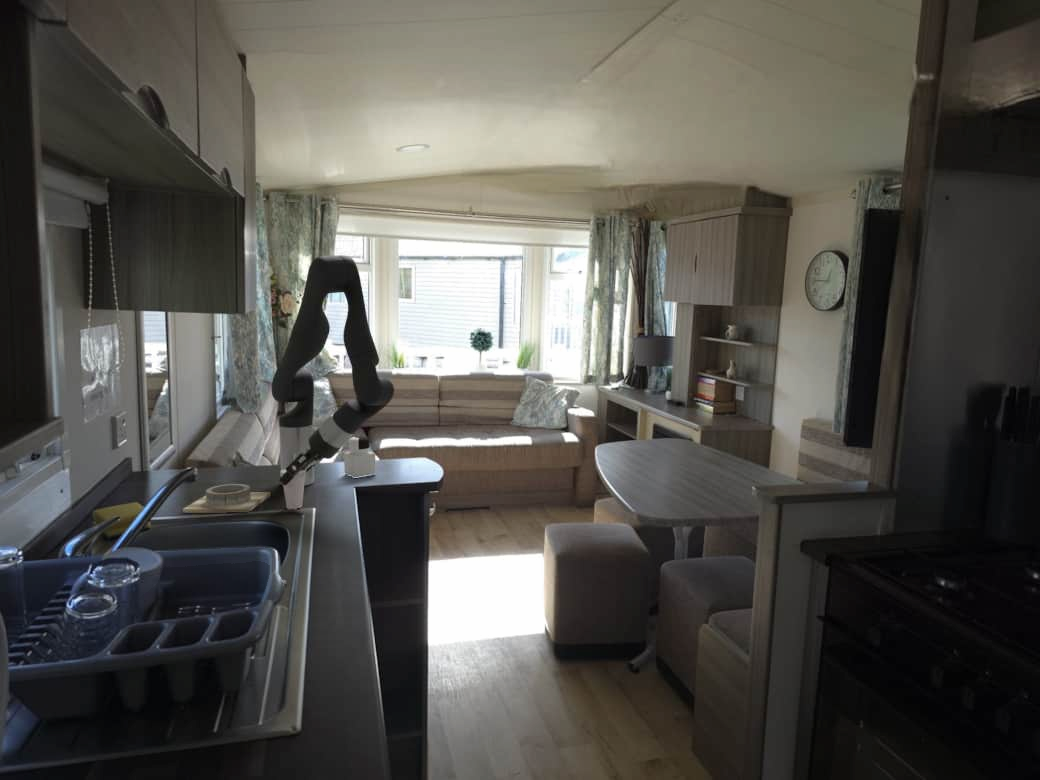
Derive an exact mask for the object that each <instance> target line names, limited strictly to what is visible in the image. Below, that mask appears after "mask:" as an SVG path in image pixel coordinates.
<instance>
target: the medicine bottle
mask: <svg viewBox="0 0 1040 780" xmlns="http://www.w3.org/2000/svg"><path fill="white" fill-rule="evenodd" d="M348 444H349V451H345V452H344V453H343V462H344V463H343V469H344V472H343V473H346V474H348V475H351V476H353V477H359V476H364V475H369V474H374V473H376V453H374V452H372V451H370V449H371V448H370V438H369V437H367V436H365V435H364V436H363V435H361V436H352V437H351V438H350V439H349V441H348Z"/></svg>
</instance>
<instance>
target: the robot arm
mask: <svg viewBox="0 0 1040 780" xmlns="http://www.w3.org/2000/svg"><path fill="white" fill-rule="evenodd" d="M358 268H359V267H358V266H357V263H356V262H355V260H354V259H353V257H351V256H349V255H343V254H340V255H338V254H337V255H321V256H316V257H315V258H314V259H313V260H312V262H311V263H310V265H309V269H308V271H307V276H306V280H305V281H306V282H305V285H304V290H303V296H302V299H301V303H300V307H299V309H298V313H297V316H296V318H295V321H294V323H293V326H292V329H291V333H290V334H289V335H290V336H289V339H288V342H287V345H286V348H285V351H284V353H283V356H282V358H281V360H280V362H279V365H278V366H277V368H276V371H275V372H274V374H273V378H272V381H271V395H272V397H273V399H274V400H275V402H276V401H277V402H278V403H282V404H283V403H287V404H288V403H296V405H295V407H293V408H292V409H291V410H289V411H287V412H286V413H283V414H281V415H280V416H279V419H278V427H279V431H278V432H279V454H280V455H279V457H280V471H281V470H284V469H285V470H286V471H287V472H286V473H285V474H284V475H283V476H280V478H279V482H280V483H281V484H280V485H281V486H283V485H287V484H288V483H289V482H290V481H291V480H292V479H293V478H294V477H295V476H296V475H297V474H298V473H300V472H301V471H305V470H306V475H305V482H304V486H309V485H312V484H314V483H315V467H316V466H317V465H319V464H320V463H321V462H322V461H323V460H324V459H325V460H326V459H328V460H329V459H332V458H333V457H334V456H335V455H337V453H338V452H339V451H340V450H341V449H342V448H343V447H344V446H345V445H346V444H347V443H349V439H350V438H352V437H353V435H354V434H355V433H356V432H357V431H358V430H359V429H360V428H361V427H362V426H363V425H364V424H365V422H367V420H369V419H371V417H374V416H375V415H376V414H377V413H379V412H380V411H381V410H383V409H384V408H385V407H386V406H388V404H389V403H390V402H391V401H392V399H393V397H394V393H395V387H394V384H393V383H392V381H391V380H389V378H386V377H380V376H378V372H377V366H378V365H379V363H380V358H379V353H378V350H377V348H376V345H375V341H374V339H373V335H372V333H371V328H370V326H369V321H368V317H367V310H366V304H365V298H364V293H363V288H362V286H363V285H362V283H361V278H360V277H361V276H360V271H359V269H358ZM337 293H343V294H344V296H345V298H346V302H347V314H346V315H347V316H346V320H345V325H344V328H343V337H342V339H343V344H344V348H345V351H346V354H347V357H348V361H349V363H350V366H351V374H352V376H351V377H352V387H353V390H354V394H355V396H356V397H355V398H353V399H349V400H347V401H345V402H344V403H343V404H342V405H340V407H338V409H337V410H336V411H335V412H334V413H333V414H332V415H331V416H329V417H328V418H327V419H326V420H325V421H324V422H323V423H322V424H320V426H319V427H318V428H317V429H316V430H315V431H313V428H314V427H313V425H314V424H313V420H314V419H313V418H314V400H315V399H314V397H315V395H314V394H315V384H314V383H315V382H314V377H313V375H312V373H311V372H310V371H309V370H307V369H302V368H303V367H305V366H306V365H307V364H309V363H310V362H311V361H312V360H314V359H315V358H316V357H317V356H318V355H320V354H321V352H322V351H323V349H324V347H325V345H326V343H327V340H328V338H329V334H330V331H331V329H330V328H331V327H330V322H329V320H328V317H327V315H326V313H325V311H324V308H323V304H324V301H325V298H326V297H327V295H328V294H337ZM294 454H296V459H295V460H294ZM294 467H296V470H294V469H293V468H294Z"/></svg>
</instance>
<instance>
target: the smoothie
mask: <svg viewBox="0 0 1040 780" xmlns="http://www.w3.org/2000/svg"><path fill="white" fill-rule="evenodd" d="M295 459H296V454H294V460H295ZM293 469H294V470H296V467H294V468H293ZM286 472H287V471H286V470H285V469H284V470H281V469H280V473H279V475H280V477H281V476H283V475H284V474H285V473H286ZM305 475H306V470H305V471H301V472H300V473H298V474H297V475H296V476H295V477H294V478H293V479H292V480H291V481H290V482H289V483H288V484H287V485H282V486H283V494H284V499H285V504H286V509H287V510H291V509H294V510H298V509H297V508H300V509H302V508H301V507H303V501H304V492H305V491H304V490H305V485H304V482H305Z"/></svg>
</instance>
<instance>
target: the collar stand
mask: <svg viewBox="0 0 1040 780" xmlns="http://www.w3.org/2000/svg"><path fill="white" fill-rule="evenodd" d="M271 496H272V495H271V492H270V491H264V492H261V491H258V492H257V491H255V492H254V491H253V492H252V491H251V487H250V485H248V484H243V483H227V484H220V485H216V486H215V485H214V486H211V487H209V488H207V489H205V495H204V496H202V497H200V498H198V499H197V500H195V501H193V502H192V503H190V504H189V505H187V506H185V507H184V508H182V513H183V514H228V513H227V512H248V513H250V512H251V511H252V510H255V508H257V506H259V505H260V504H262V503H263V502H264V501H266V500H267V499H269V498H270V497H271ZM249 511H250V512H249Z"/></svg>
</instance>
